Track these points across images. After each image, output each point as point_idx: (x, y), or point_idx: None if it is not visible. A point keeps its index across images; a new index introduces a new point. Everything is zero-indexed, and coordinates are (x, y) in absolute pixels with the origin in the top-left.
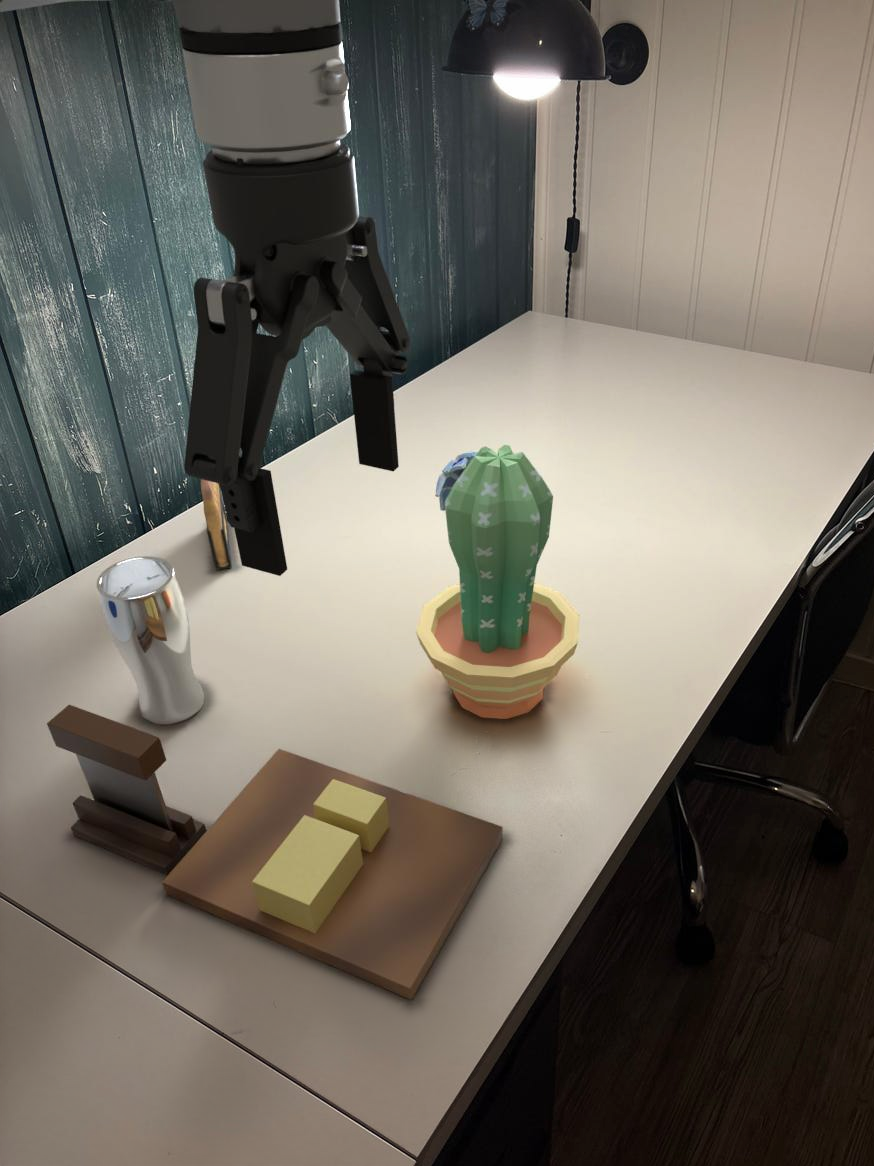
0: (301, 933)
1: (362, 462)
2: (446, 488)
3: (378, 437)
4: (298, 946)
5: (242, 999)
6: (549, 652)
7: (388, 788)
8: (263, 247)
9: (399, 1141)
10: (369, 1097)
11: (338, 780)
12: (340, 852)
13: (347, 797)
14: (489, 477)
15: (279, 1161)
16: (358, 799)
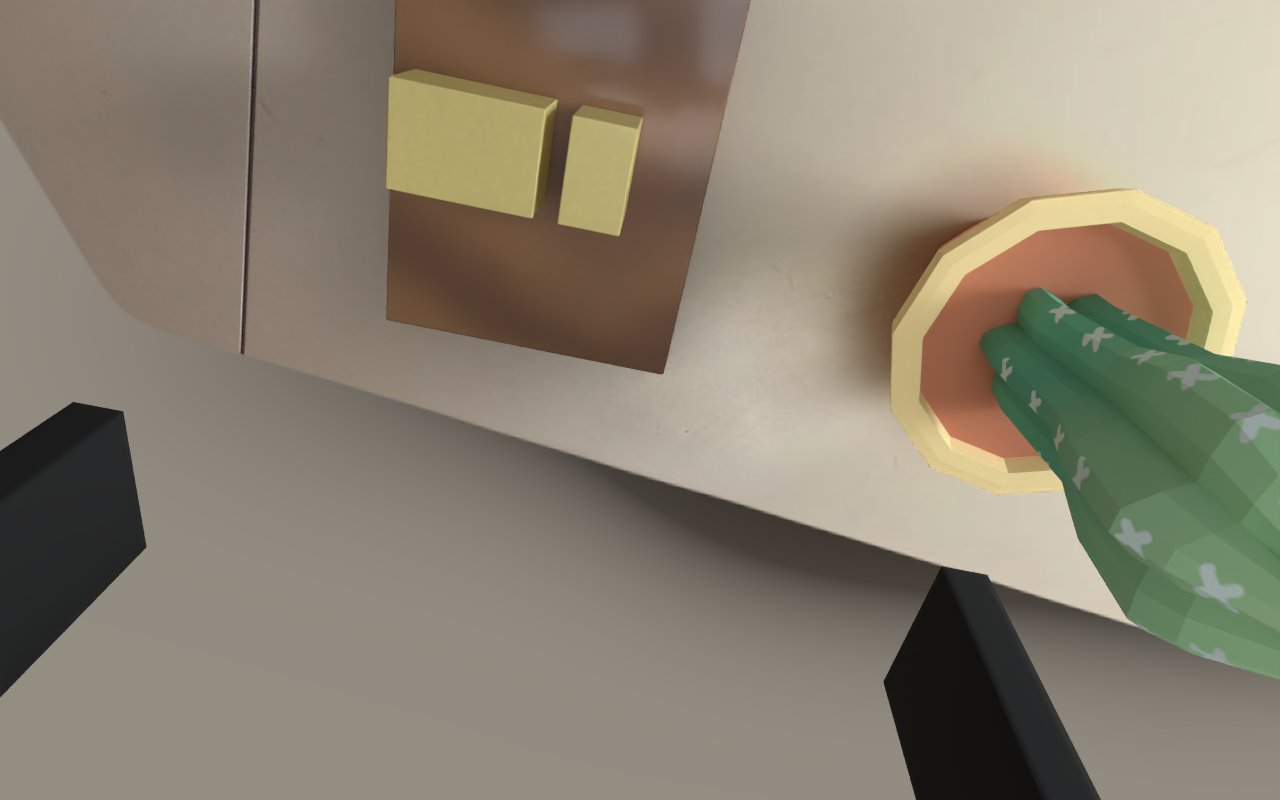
0: None
1: (939, 586)
2: None
3: (942, 771)
4: None
5: (306, 92)
6: (966, 456)
7: (701, 191)
8: None
9: (247, 339)
10: (272, 296)
11: (704, 95)
12: (491, 200)
13: (603, 171)
14: (1257, 610)
15: (166, 225)
16: (603, 192)
